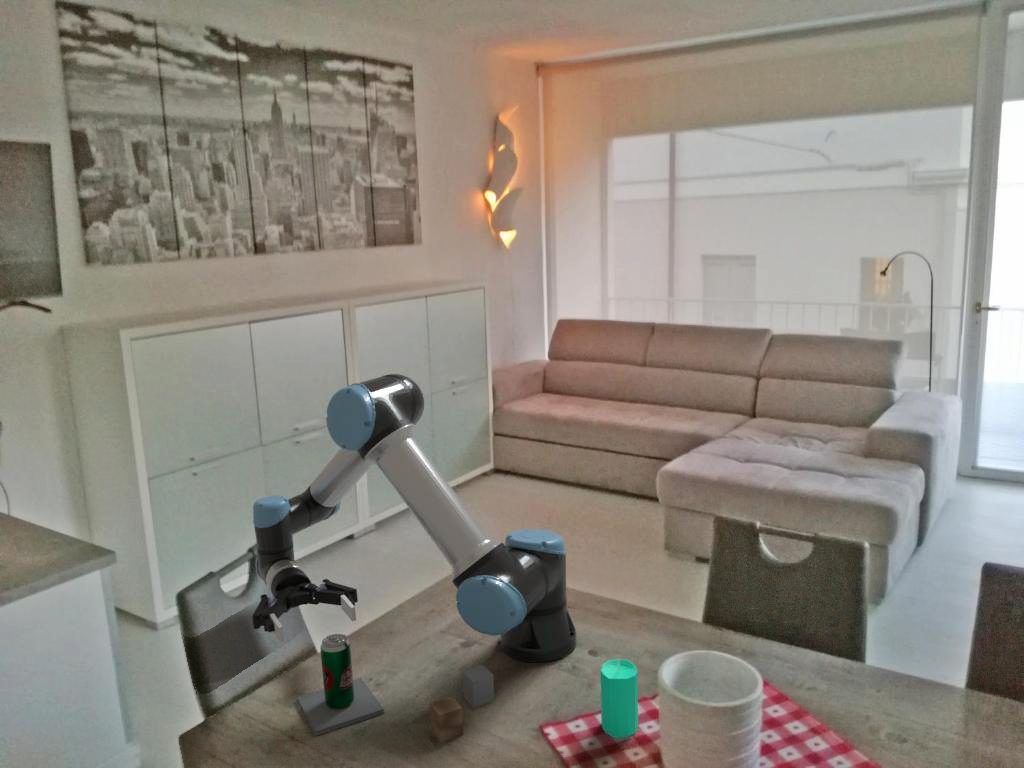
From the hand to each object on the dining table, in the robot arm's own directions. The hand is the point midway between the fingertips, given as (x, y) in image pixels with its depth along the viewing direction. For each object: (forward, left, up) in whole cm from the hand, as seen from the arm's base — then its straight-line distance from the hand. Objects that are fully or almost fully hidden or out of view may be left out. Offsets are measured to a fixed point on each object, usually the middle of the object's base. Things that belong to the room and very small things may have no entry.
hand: (318, 624), depth 151 cm
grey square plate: (0, +10, -12) cm, 15 cm away
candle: (-38, +41, -12) cm, 57 cm away
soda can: (0, +10, -11) cm, 15 cm away
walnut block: (-13, +27, -12) cm, 32 cm away
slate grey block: (-22, +21, -12) cm, 32 cm away
